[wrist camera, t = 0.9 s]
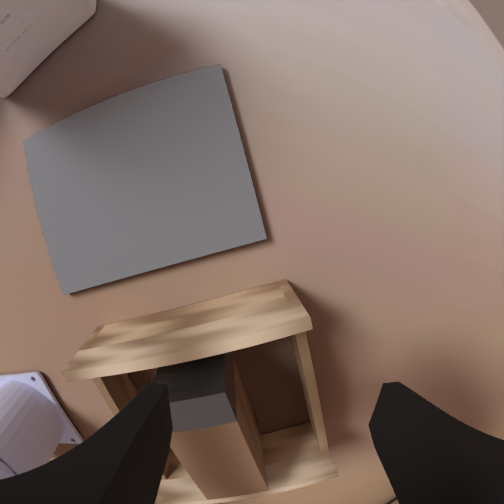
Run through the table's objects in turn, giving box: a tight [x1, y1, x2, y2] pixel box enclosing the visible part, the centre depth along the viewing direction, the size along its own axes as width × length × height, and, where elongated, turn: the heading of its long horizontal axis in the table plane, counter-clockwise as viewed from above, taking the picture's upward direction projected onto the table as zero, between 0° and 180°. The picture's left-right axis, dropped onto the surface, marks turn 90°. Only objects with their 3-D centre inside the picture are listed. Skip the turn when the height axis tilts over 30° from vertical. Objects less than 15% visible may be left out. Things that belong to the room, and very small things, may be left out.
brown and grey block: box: [153, 351, 269, 500], centre depth 17 cm, size 4×9×7 cm, turn 15°
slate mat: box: [23, 64, 267, 295], centre depth 17 cm, size 14×11×1 cm
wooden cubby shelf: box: [62, 279, 338, 504], centre depth 18 cm, size 13×13×6 cm
